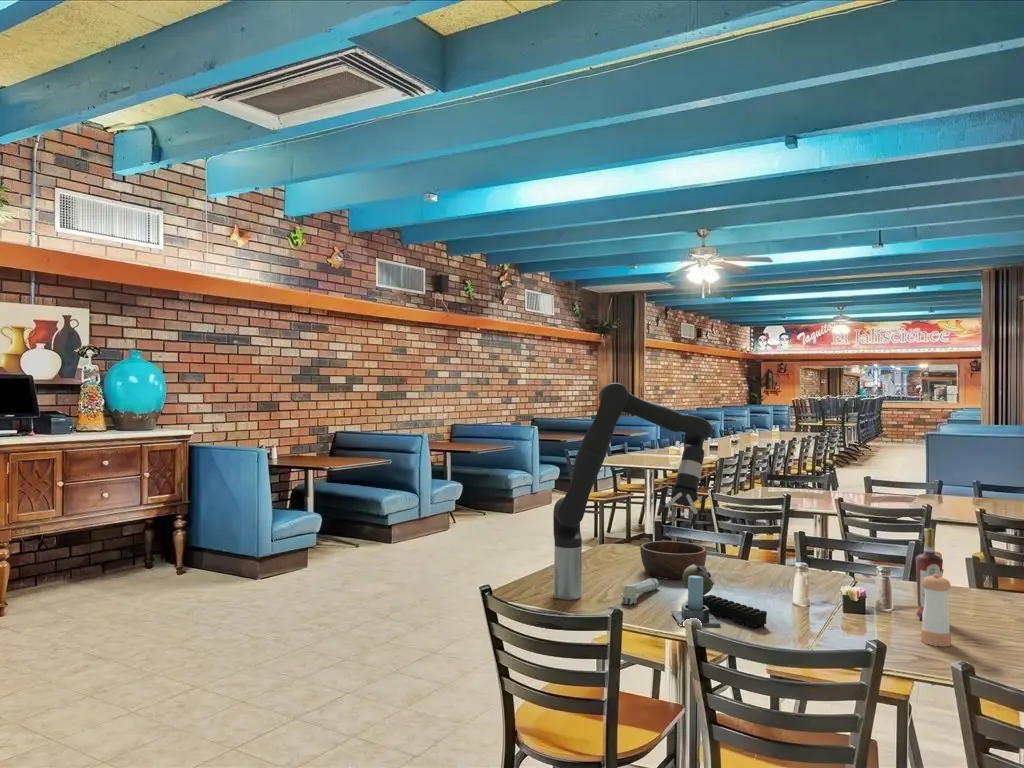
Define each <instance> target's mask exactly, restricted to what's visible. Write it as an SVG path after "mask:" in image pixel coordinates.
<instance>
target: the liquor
mask: <svg viewBox="0 0 1024 768" xmlns="http://www.w3.org/2000/svg"><path fill="white" fill-rule="evenodd" d="M923 529H924V531H923V535H924V546H923V552H922V553H920V554H918V555H916V556H915V573H916V574H915V576H916V588H917V589H916V592H917V593H916V594H917V595H916V596H917V611H916V616H917V617H919V619H920V620H922V615H923V610H924V604H925V587H923V585H922V580H923V579H924V577H927V576H933V574H938V575H939V577H943V567H944V566H943V565H944V564H943V563H944V562H943V561H944V560H943V559H942V557H940V556H938V555H937V554H936V553H935V552H936V551H935V543H934V541H935V540H934V538H935V529H934V528H931V527H927V528H926V527H925V528H923Z"/></svg>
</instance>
